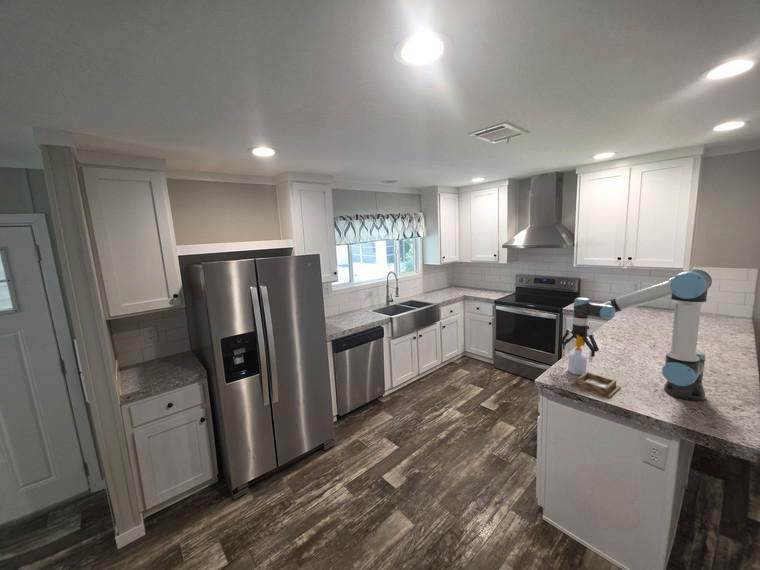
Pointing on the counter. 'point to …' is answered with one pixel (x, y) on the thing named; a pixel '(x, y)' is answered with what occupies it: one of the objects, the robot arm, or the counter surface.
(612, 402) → the counter surface
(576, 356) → the orange capped white bottle
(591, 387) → the picture frame
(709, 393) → the counter surface
